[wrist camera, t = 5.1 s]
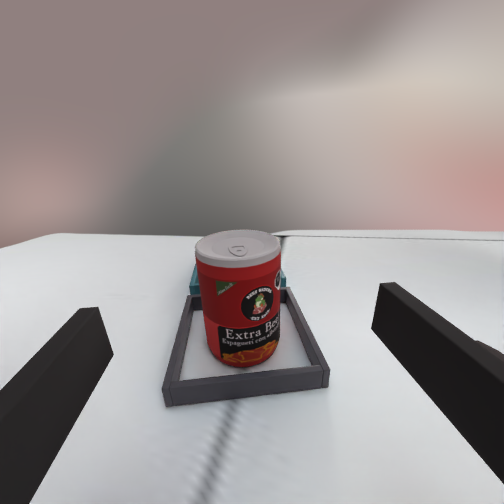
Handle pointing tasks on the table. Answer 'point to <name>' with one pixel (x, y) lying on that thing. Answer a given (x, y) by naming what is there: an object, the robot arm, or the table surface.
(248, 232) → the canned food
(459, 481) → the table surface
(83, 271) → the table surface
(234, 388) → the tray
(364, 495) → the table surface
